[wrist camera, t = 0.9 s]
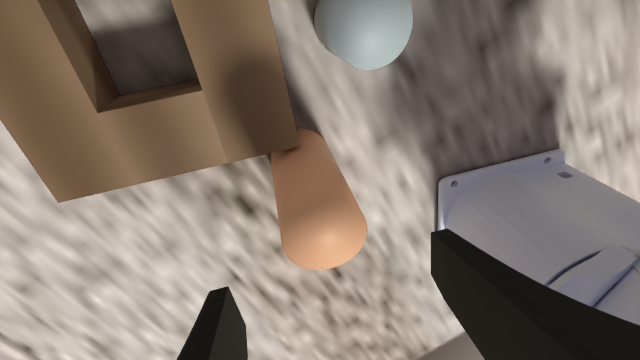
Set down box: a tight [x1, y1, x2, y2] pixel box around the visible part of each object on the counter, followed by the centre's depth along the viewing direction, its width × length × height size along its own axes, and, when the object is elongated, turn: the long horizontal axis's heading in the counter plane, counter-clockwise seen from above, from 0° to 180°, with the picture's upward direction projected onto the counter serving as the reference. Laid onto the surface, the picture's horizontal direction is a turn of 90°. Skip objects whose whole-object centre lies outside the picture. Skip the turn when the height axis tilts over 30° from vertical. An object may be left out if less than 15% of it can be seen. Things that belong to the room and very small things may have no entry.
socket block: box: [0, 0, 300, 203], centre depth 15 cm, size 12×12×3 cm
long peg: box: [271, 128, 367, 270], centre depth 17 cm, size 4×4×8 cm
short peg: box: [314, 0, 413, 70], centre depth 16 cm, size 4×4×4 cm
